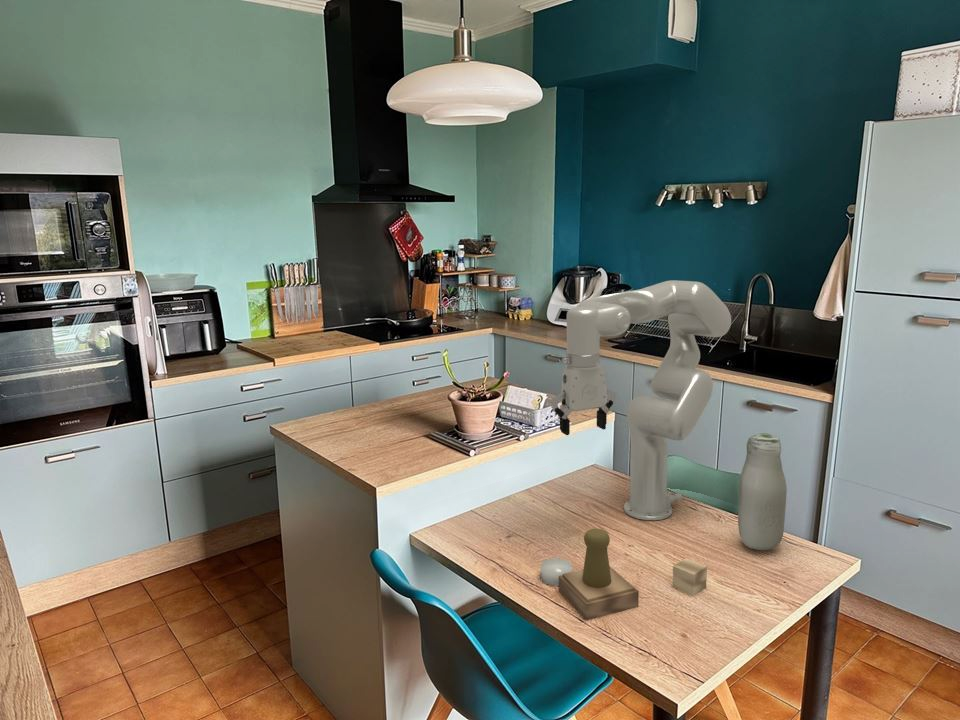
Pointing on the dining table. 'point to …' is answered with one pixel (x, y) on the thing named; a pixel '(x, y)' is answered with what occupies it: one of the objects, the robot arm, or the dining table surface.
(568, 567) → the pale grey dome
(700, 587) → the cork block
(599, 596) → the walnut stand
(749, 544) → the glass bottle
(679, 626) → the dining table surface
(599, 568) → the pepper shaker
